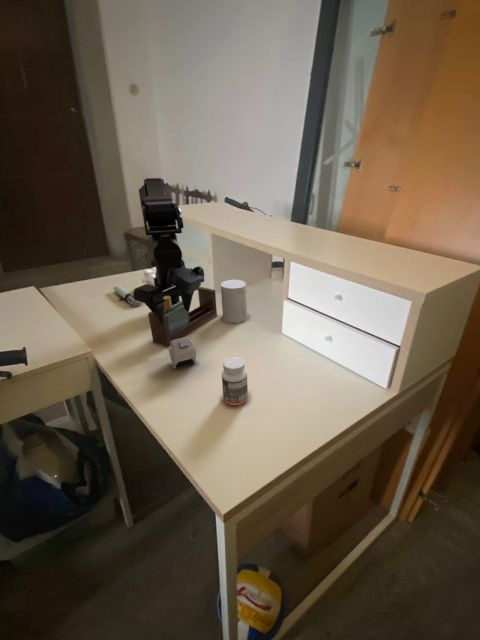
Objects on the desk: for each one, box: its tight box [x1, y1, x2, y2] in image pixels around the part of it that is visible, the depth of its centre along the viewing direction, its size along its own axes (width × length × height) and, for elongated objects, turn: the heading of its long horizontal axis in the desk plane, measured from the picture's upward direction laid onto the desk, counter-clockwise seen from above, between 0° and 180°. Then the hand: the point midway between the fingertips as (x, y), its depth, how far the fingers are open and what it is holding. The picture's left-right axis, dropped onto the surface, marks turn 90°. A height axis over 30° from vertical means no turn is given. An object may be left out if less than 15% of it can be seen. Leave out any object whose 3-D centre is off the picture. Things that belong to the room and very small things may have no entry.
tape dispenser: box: [168, 336, 197, 369], centre depth 92 cm, size 6×7×10 cm
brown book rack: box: [147, 286, 218, 348], centre depth 110 cm, size 6×24×10 cm, turn 150°
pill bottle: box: [221, 356, 249, 406], centre depth 79 cm, size 6×6×10 cm
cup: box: [220, 279, 248, 324], centre depth 116 cm, size 8×8×12 cm
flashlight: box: [113, 285, 141, 308], centre depth 132 cm, size 3×4×20 cm
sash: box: [163, 296, 183, 315], centre depth 106 cm, size 2×10×10 cm, turn 150°
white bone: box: [141, 266, 156, 286], centre depth 137 cm, size 15×9×8 cm, turn 37°
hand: (175, 316), depth 90 cm, fingers open, 9 cm apart
